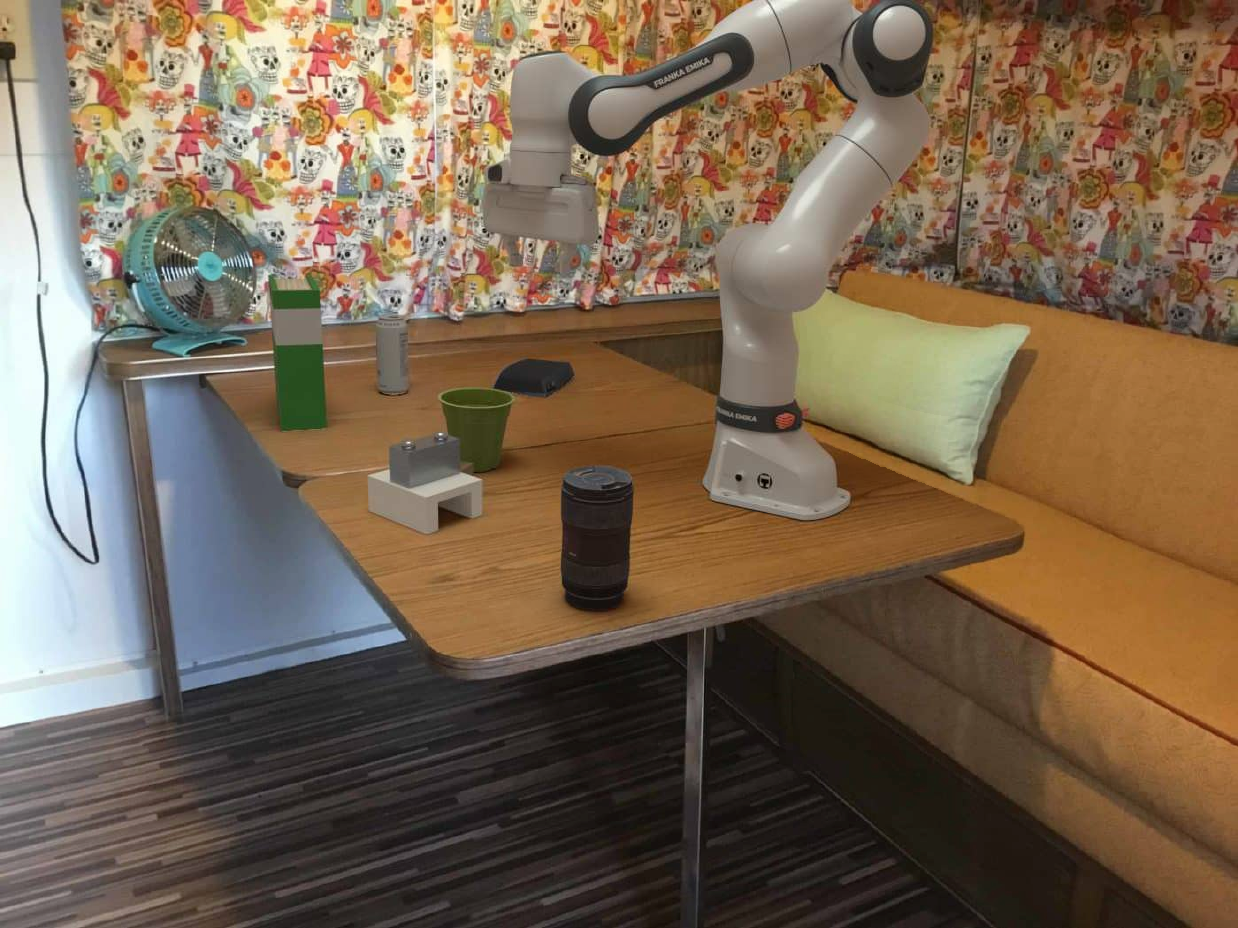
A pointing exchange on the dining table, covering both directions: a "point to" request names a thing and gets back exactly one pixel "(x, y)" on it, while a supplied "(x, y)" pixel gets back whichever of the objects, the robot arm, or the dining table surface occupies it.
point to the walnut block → (466, 468)
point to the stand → (424, 500)
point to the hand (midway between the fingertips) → (538, 270)
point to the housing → (424, 459)
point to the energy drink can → (392, 354)
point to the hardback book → (298, 353)
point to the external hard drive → (534, 377)
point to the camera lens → (596, 536)
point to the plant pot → (477, 423)
